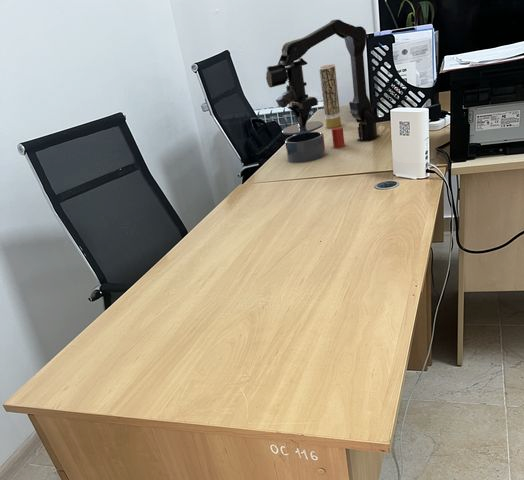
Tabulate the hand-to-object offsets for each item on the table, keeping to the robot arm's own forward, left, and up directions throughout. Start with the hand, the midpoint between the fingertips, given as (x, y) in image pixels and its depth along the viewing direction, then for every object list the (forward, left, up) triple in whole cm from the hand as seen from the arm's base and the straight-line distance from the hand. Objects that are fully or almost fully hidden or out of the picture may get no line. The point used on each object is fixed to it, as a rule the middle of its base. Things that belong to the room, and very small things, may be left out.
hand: (302, 125), depth 206 cm
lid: (0, 0, -1) cm, 1 cm away
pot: (0, 0, -12) cm, 12 cm away
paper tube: (+17, -42, -12) cm, 47 cm away
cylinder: (-6, -13, -12) cm, 19 cm away
